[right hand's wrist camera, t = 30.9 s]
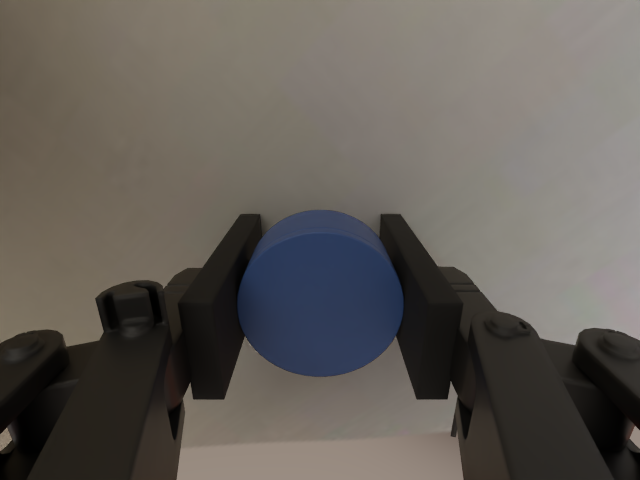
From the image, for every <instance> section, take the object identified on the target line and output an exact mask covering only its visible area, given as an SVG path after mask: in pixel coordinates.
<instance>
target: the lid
mask: <svg viewBox="0 0 640 480" xmlns="http://www.w3.org/2000/svg"><path fill="white" fill-rule="evenodd" d="M403 311H404V295H403V290H402V286H401V283H400V280H399V278H398V275H397V273H396V271H395V269H394V266H393V264H392V262H391V260H390V257H389V255H388V253H387V251H386V249H385V247H384V245H383V243H382V241H381V240H380V239H379V237H378V236H377V235H376V234H375V233H374V232H373V231H372V230H371V229H370V228H369V227H368V226H367V225H365V224H364V223H363V222H361V221H359V220H358V219H356V218H354V217H352V216H349V215H347V214H344V213H340V212H336V211H330V210H311V211H304V212H301V213H297V214H294V215H291V216H289V217H287V218H285V219H283V220H281V221H279V222H278V223H277V224H275V225H274V226H273V227H271V228H270V229H269V230H268V231H267V232H266V233H265V234H264V236H263V237H262V238H261V240H260V241H259V243H258V244H257V246H256V248H255V250H254V252H253V255H252V257H251V259H250V261H249V264H248V266H247V268H246V271H245V273H244V275H243V278H242V280H241V283H240V285H239V290H238V294H237V313H238V318H239V322H240V325H241V328H242V330H243V333H244V334H245V336H246V338H247V340H248V341H249V343H250V344H251V345H252V346H253V348H254V349H255V350H256V351H257V352H258V353H259V354H260V355H261V356H263V357H264V358H265V359H266V360H268V361H269V362H271V363H272V364H274V365H276V366H278V367H280V368H282V369H284V370H287V371H290V372H293V373H296V374H301V375H305V376H315V377H326V376H335V375H340V374H345V373H348V372H351V371H354V370H356V369H359V368H361V367H363V366H365V365H367V364H368V363H370V362H372V361H373V360H374V359H376V358H377V357H378V356H379V355H381V354H382V353H383V352H384V351H385V350H386V349H387V347H388V346H389V345H390V344H391V342H392V341H393V339H394V337H395V336H396V334H397V332H398V330H399V327H400V325H401V321H402V318H403Z"/></svg>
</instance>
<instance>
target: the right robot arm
mask: <svg viewBox="0 0 640 480" xmlns="http://www.w3.org/2000/svg"><path fill="white" fill-rule="evenodd" d="M379 239H380V240H381V241H382V243H383V245H384V247H385V249H386V251H387V253H388V255H389V257H390V260H391V262H392V264H393V266H394V269H395V271H396V273H397V275H398V278H399V280H400V283H401V286H402V290H403V295H404V311H403V318H402V321H401V325H400V327H399V330H398V332H397V334H396V337H397V340H398V343H399V346H400V349H401V353H402V356H403V359H404V362H405V365H406V368H407V371H408V374H409V377H410V380H411V383H412V386H413V389H414V393H415V396H416V399H448V394H449V388H450V382H452V384H453V386H454V389H455V391H456V393H457V395H458V397H457V403H456V408H455V414H454V419H453V425H452V431H451V436H452V437H456V432H457V431H458V439H459V447H460V455H461V462H462V470H463V478H464V480H640V449H639V448H638V447H637V446H636V445H635V444H634V443H633V442H632V441H631V440H630V439H629V438H630V436H631V433H632V431H633V429H634V427H635V426H636V427H637V428H638V429H639V430H640V341H639V340H638V339H635V338H633V337H630V336H628V335H627V334H625V333H622V332H619V331H615V330H610V329H599V328H591V329H584V330H583V331H582V332H580V333H579V335H578V338H577V342H576V345H570V344H565V343H560V342H554V341H549V340H544V339H540V338H539V336H538V334H537V332H536V331H535V329H534V328H533V327H532V326H531V325H530V324H529V323H527V322H526V321H524V320H522V319H521V318H518V317H516V316H513V315H511V314H508V313H503V312H498V311H497V310H496V309H495V308H494V306H493V305H492V304H491V303H490V302H489V300H488V299H487V298H486V297H485V296H484V295H483V293H482V292H480V290H479V289H478V287H477V286H476V285H474V283H473V282H472V280H471V279H470V278H469V277H468V276H467V274H465V273H463V272H461V271H460V270H458V269H456V268H455V267H438V266H437V265H436V264H435V262H434V261H433V259H432V258H431V257H430V255H429V254H428V252H427V251H426V250H425V248H424V247H423V245H422V244H421V242H420V241H419V240H418V238H417V237H416V235H415V234H414V233H413V231H412V230H411V228H410V227H409V226H408V224H407V223H406V221H405V220H404V219H403V217H402V216H401V214H381V222H380V237H379ZM260 240H261V222H260V214H240V216H239V217H238V219H237V220H236V221H235V223H234V224H233V226H232V227H231V228H230V230H229V231H228V233H227V234H226V235H225V237H224V238H223V240H222V241H221V242H220V244H219V245H218V247H217V248H216V250H215V251H214V252H213V254H212V255H211V257H210V258H209V259H208V261H207V262H206V264H205V265H204V266H203V268H187V269H185V270H183V271H182V272H180V273H178V274H177V275H175V276H174V277H173V278H172V279H171V281H170V282H169V283H168V284H167V286H166V287H165V288H164V289H163V286H162V285H161V284H159V283H158V282H154V281H149V280H140V281H132V282H126V283H122V284H119V285H116V286H113V287H111V288H109V289H107V290H105V291H103V292H102V293H101V294H100V295H98V296H97V297H96V298H95V299H96V303H97V307H98V311H99V315H100V319H101V322H102V326H103V330H104V333H103V335H102V337H101V338H100V340H99V341H95V342H90V343H85V344H79V345H74V346H68V347H66V344H65V341H64V338H63V335H62V334H61V333H59V332H58V331H54V330H38V331H29V332H27V333H22V334H18V335H16V336H15V337H13V338H11V339H8V340H6V341H4V342H2V343H0V434H1V433H2V432H3V431H4V430H5V429H6V428H8V430H9V433H10V435H11V437H12V441H11V442H10V443H9V444H8V445H7V446H6V447H5V448H4V449H3V450H1V451H0V480H176V479H177V471H178V463H179V455H180V448H181V440H182V432H183V424H184V417H185V409H184V403H183V397H184V395H185V392H186V390H187V388H188V386H189V384H190V382H191V388H192V394H193V399H224V398H225V395H226V392H227V389H228V386H229V383H230V380H231V377H232V374H233V371H234V368H235V365H236V361H237V358H238V355H239V352H240V349H241V346H242V343H243V340H244V337H245V334H244V333H243V330H242V328H241V325H240V322H239V318H238V313H237V294H238V290H239V285H240V283H241V280H242V278H243V275H244V273H245V271H246V268H247V266H248V264H249V261H250V259H251V257H252V255H253V252H254V250H255V248H256V246H257V244H258V243H259V241H260Z"/></svg>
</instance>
